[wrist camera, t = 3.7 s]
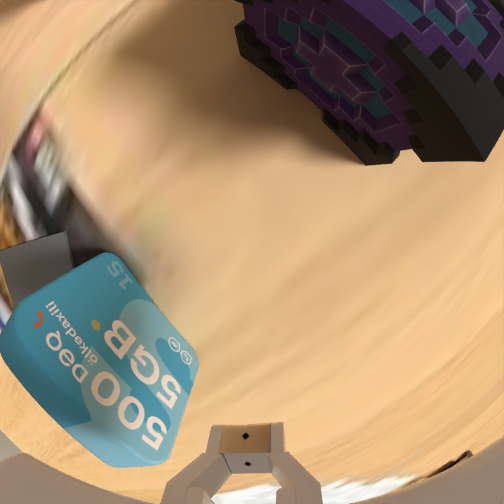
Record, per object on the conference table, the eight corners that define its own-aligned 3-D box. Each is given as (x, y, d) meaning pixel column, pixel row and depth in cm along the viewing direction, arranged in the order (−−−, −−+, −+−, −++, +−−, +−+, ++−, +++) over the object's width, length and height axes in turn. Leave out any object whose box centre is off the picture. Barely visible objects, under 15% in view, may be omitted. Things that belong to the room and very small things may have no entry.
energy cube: (338, -15, 13) (375, -103, 1) (443, 79, 15) (540, 42, 3) (240, 55, 16) (212, -60, 4) (365, 165, 17) (484, 161, 6)
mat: (-1, 250, 21) (-3, 251, 20) (66, 230, 20) (63, 231, 19) (49, 375, 25) (47, 376, 25) (123, 387, 24) (122, 389, 24)
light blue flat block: (203, 358, 22) (166, 474, 11) (167, 374, 23) (122, 476, 11) (113, 246, 20) (3, 310, 8) (84, 274, 21) (-12, 340, 9)
